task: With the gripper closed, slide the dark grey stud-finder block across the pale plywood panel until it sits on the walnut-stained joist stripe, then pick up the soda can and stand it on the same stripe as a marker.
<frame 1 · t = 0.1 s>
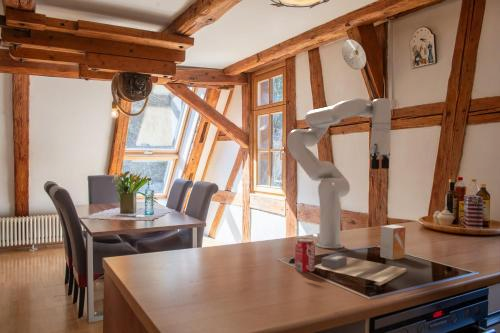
hand: (380, 168, 173), 37 cm above the cooktop, tool pointing down, fingers open, 9 cm apart
plywood panel: (358, 270, 150), on the cooktop
small box: (392, 257, 170), on the cooktop
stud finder: (334, 265, 152), point 1 cm above the cooktop, touching plywood panel
soda can: (304, 273, 147), on the cooktop
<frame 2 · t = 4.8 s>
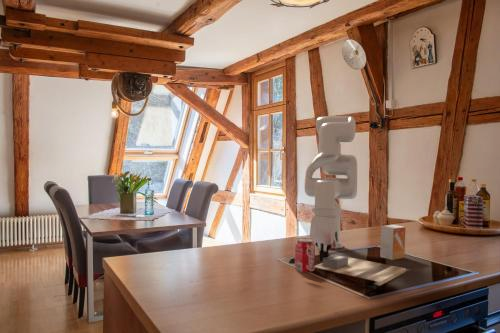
hand: (323, 260, 155), 2 cm above the cooktop, tool pointing down, fingers closed
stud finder: (335, 265, 152), point 1 cm above the cooktop
everything else where it was.
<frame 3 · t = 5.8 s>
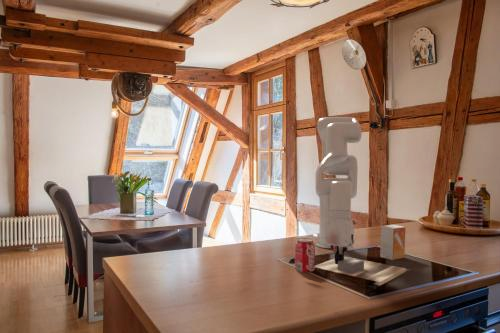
hand: (339, 263, 151), 2 cm above the cooktop, tool pointing down, fingers closed
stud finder: (350, 269, 147), point 1 cm above the cooktop, touching gripper, plywood panel
everything else where it was.
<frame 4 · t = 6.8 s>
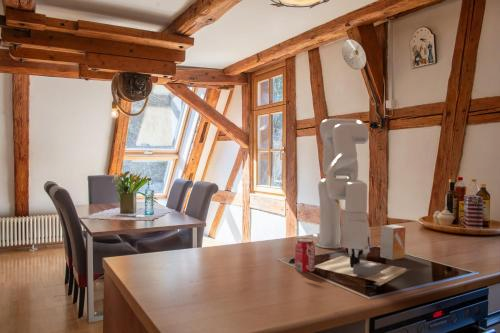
hand: (354, 267, 146), 2 cm above the cooktop, tool pointing down, fingers closed
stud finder: (366, 272, 143), point 1 cm above the cooktop, touching gripper
everything else where it was.
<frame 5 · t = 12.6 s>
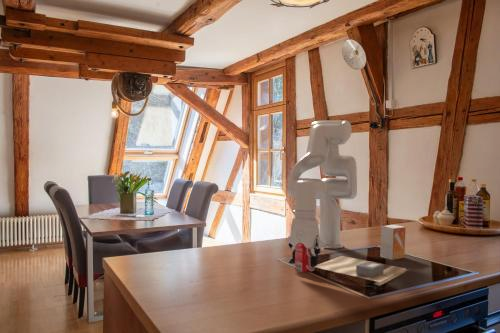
hand: (304, 263, 146), 3 cm above the cooktop, tool pointing down, fingers closed on soda can, 7 cm apart
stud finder: (369, 273, 142), point 1 cm above the cooktop, touching plywood panel
soda can: (304, 273, 147), on the cooktop, touching gripper
everything else where it was.
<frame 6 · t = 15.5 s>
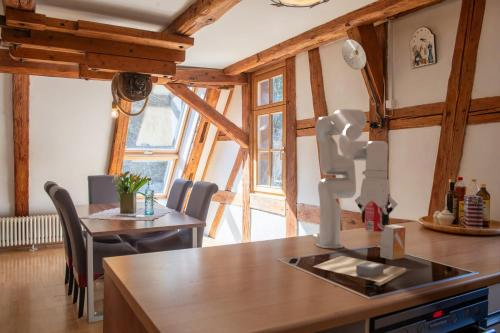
hand: (374, 223, 149), 18 cm above the cooktop, tool pointing down, fingers closed on soda can, 7 cm apart
soda can: (374, 232, 150), point 14 cm above the cooktop, touching gripper
everything else where it was.
when the fingers open (6 cm above the cooktop, at t = 18.5 s): soda can drops 1 cm, resting on plywood panel.
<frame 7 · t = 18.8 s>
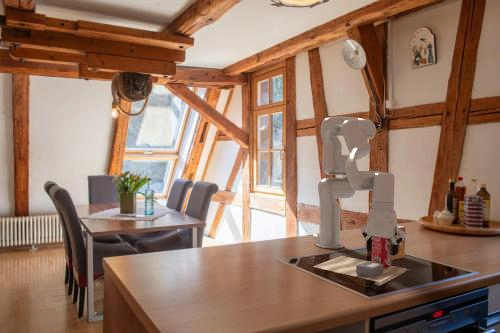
hand: (381, 252, 150), 7 cm above the cooktop, tool pointing down, fingers open, 9 cm apart
soda can: (381, 267, 150), point 1 cm above the cooktop, touching plywood panel
everything else where it was.
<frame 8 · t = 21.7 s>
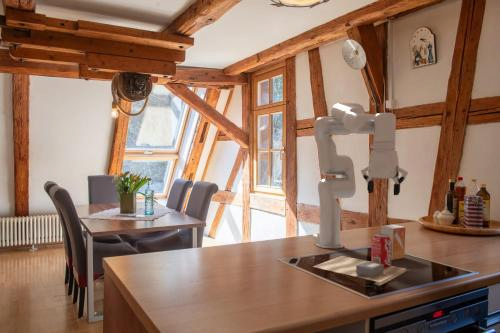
hand: (383, 193, 149), 28 cm above the cooktop, tool pointing down, fingers open, 9 cm apart
nothing on the cooktop moved.
at the end: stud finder inside the target area on the plywood panel (0.4 cm from its centre), point 1.2 cm above the plywood panel's base; soda can inside the target area (0.5 cm from its centre), point 1.0 cm above the cooktop; soda can tilted 0° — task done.
